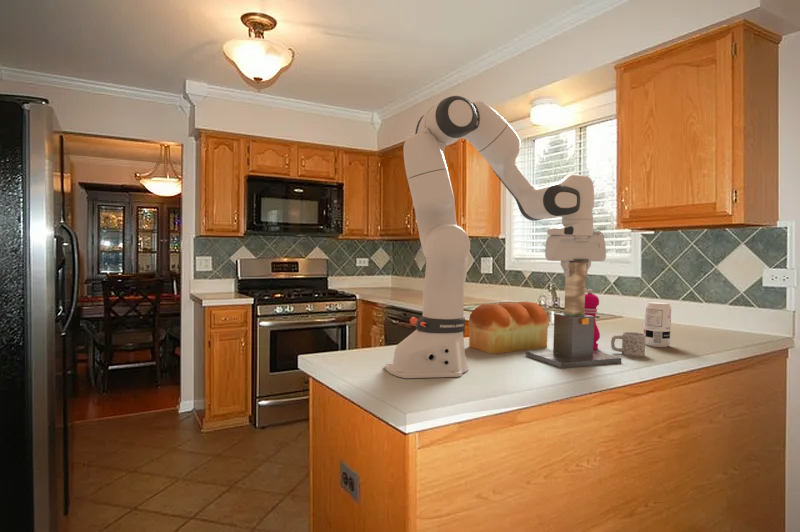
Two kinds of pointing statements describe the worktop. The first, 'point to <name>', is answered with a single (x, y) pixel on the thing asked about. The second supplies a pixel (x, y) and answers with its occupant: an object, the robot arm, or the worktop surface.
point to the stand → (573, 344)
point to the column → (575, 288)
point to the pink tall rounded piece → (592, 313)
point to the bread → (508, 327)
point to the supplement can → (657, 324)
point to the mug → (630, 344)
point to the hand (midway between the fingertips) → (575, 276)
